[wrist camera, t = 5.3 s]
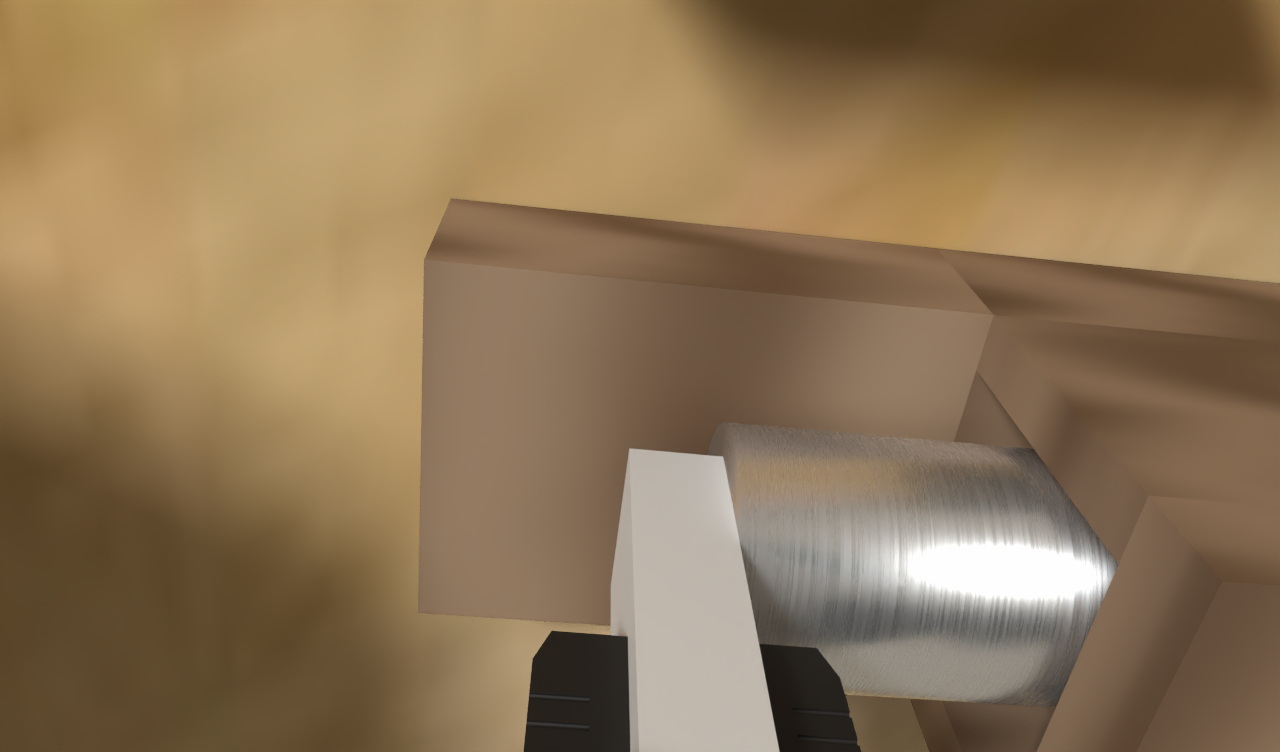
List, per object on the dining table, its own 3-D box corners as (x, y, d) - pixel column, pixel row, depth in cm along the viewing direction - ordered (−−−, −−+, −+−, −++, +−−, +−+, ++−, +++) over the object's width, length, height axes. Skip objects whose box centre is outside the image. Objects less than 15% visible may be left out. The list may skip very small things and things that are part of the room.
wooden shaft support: (441, 516, 21) (332, 964, 12) (451, 198, 17) (312, 513, 9) (1278, 578, 22) (1686, 1012, 14) (1430, 298, 19) (2079, 645, 11)
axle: (685, 562, 18) (705, 744, 14) (721, 374, 16) (753, 533, 12) (1580, 628, 19) (1791, 807, 16) (1715, 465, 17) (1990, 628, 14)
